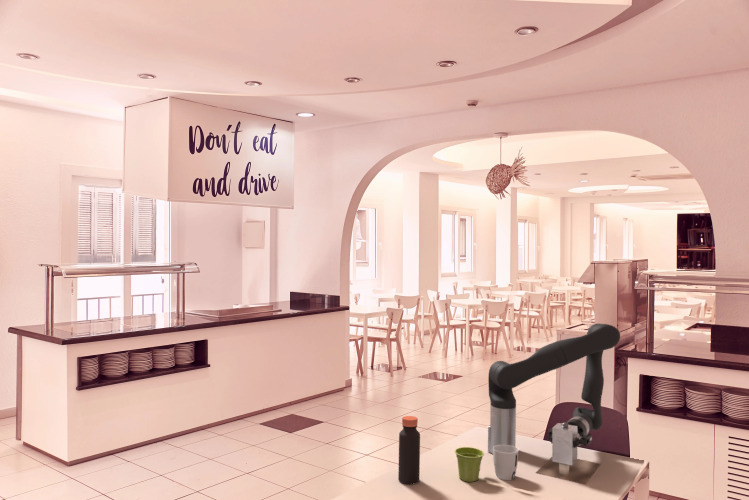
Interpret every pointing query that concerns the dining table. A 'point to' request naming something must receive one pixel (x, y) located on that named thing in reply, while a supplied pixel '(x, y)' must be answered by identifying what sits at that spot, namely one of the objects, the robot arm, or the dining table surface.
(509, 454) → the cup
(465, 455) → the plant pot
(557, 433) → the steel cover
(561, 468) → the beige cylinder
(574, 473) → the walnut board
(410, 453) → the bottle
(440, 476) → the dining table surface
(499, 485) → the dining table surface
